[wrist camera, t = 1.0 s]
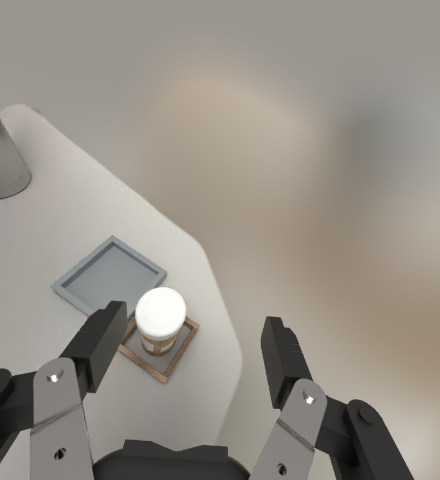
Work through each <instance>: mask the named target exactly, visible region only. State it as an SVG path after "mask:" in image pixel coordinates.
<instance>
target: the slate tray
mask: <svg viewBox="0 0 440 480" xmlns="http://www.w3.org/2000/svg"><path fill="white" fill-rule="evenodd" d="M166 274H167V271H165V270H164V269H162V268H161V267H159V266H158V265H156V264H155V263H153V262H152V261H150V260H149V259H147V258H146V257H144V256H143V255H141V254H140V253H138V252H137V251H135V250H134V249H132V248H131V247H129V246H128V245H126V244H125V243H123V242H122V241H120V240H119V239H117V238H116V237H114V236H113V235H112V236H111V237H109V238H108V239H107V240H106V241H105V242H103V243H102V244H101V245H100V246H99V247H97V248H96V249H95V250H94V251H93V252H91V253H90V254H89V255H88V256H87V257H85V258H84V259H83V260H82V261H81V262H79V263H78V264H77V265H76V266H75V267H73V268H72V269H71V270H70V271H69V272H67V273H66V274H65V275H64V276H63V277H61V278H60V279H59V280H58V281H57V282H55V283H54V284H53V285H52V286H51V288H52V289H53V290H54V291H55V292H56V293H57V294H58V295H60V296H61V297H63V298H64V299H65V300H67V301H68V302H69V303H71V304H72V305H74V306H75V307H76V308H78V309H79V310H80V311H82V312H83V313H85V314H86V315H87V316H89V317H90V315H92V314H93V313H94V312H96V311H97V310H98V309H105V308H106V307H107V305H108V304H109V302H110V301H111V300H115V301H125V302H126V304H127V319H128V322H129V321H130V320H131V318H132V317H133V316H134V315H135V310H136V306H137V304H138V302H139V300H140V298H141V297H142V296H143V295H144V294H145V293H146V292H148V291H150V290H152V289H154V288H157V287H158V286H159V285H160V284H161V283H162V281H163V280H164V279H165V278H166Z"/></svg>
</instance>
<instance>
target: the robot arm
mask: <svg viewBox="0 0 440 480" xmlns="http://www.w3.org/2000/svg"><path fill="white" fill-rule="evenodd" d="M30 180H31V174H30V172H29V170H28V168H27V166H26V164H25V163H24V161H23V159H22V157H21V155H20V153H19V152H18V150H17V148H16V146H15V145H14V143H13V141H12V139H11V137H10V136H9V134H8V132H7V130H6V129H5V127H4V125H3V123H2V121H1V120H0V198H4V197H8V196H11V195H14V194H16V193H18V192H20V191H21V190H23V189H24V188H25V187H26V186H27V185H28V184H29V182H30ZM127 325H128V319H127V304H126V302H125V301H115V300H111V301H110V302H109V304H108V305H107V307H106V308H105V309H98V310H97V311H96V312H94V313H93V314H92V315H90V317H89V318H88V319H87V321H86V322H85V324H84V325H83V326H82V327H81V329H80V331H78V333H77V334H76V335H75V337H74V338H73V339H72V341H71V342H70V343H69V345H68V346H67V347H66V349H65V350H64V351H63V353H62V354H61V355H60V357H59V358H57V359H54V360H52V361H50V362H48V363H46V364H45V365H43V366H42V367H41V368H40V369H39V370H38V371H35V372H31V373H25V374H20V375H15V376H12V375H11V373H10V371H9V370H7V369H2V368H1V369H0V462H1V461H2V459H3V458H4V456H5V455H6V453H7V451H8V450H9V448H10V447H11V445H12V444H13V442H14V440H15V439H16V437H17V436H18V434H19V433H20V431H23V430H26V429H30V428H32V429H31V432H30V480H307V477H308V474H309V471H310V467H311V464H312V460H313V457H314V452H315V450H314V448H316V449H319V450H321V451H323V452H325V453H327V454H329V456H330V459H331V463H332V466H333V469H334V473H335V476H336V479H337V480H414V478H413V476H412V474H411V473H410V471H409V469H408V467H407V465H406V463H405V461H404V459H403V458H402V455H401V454H400V452H399V450H398V448H397V446H396V444H395V442H394V440H393V438H392V437H391V435H390V433H389V431H388V429H387V427H386V425H385V424H384V422H383V419H382V418H381V416H380V415H379V414H378V412H377V411H376V410H375V409H374V408H373V407H371V406H370V405H369V404H367V403H366V402H364V401H361V400H356V399H354V400H351V401H350V402H349V403H348V405H347V404H344V403H342V402H340V401H337V400H335V399H332V398H330V397H328V396H327V395H325V393H324V392H323V390H322V389H321V388H320V386H319V385H317V384H316V383H315V382H313V379H312V377H311V374H310V372H309V369H308V367H307V364H306V361H305V359H304V356H303V353H302V351H301V348H300V346H299V343H298V340H297V338H296V335H295V334H294V333H293V332H292V331H291V329H290V328H285V327H284V325H283V322H282V320H281V318H280V317H270V316H267V317H266V320H265V324H264V328H263V332H262V335H261V349H262V354H263V359H264V364H265V369H266V375H267V380H268V385H269V390H270V396H271V401H272V406H273V408H275V409H280V410H281V414H280V416H279V418H278V420H277V422H276V423H275V425H274V427H273V429H272V432H271V434H270V436H269V438H268V440H267V442H266V444H265V446H264V448H263V451H262V453H261V455H260V457H259V459H258V461H257V463H256V465H255V467H254V469H253V472H252V473H251V474H250V473H249V472H248V471H247V469H246V468H245V467H244V466H243V465H242V464H240V463H239V462H238V461H236V460H235V459H233V458H232V457H229V456H228V447H223V446H209V445H201V446H197V447H193V448H190V449H186V450H182V451H177V452H176V451H172V450H170V449H168V448H165V447H163V446H161V445H159V444H156V443H154V442H152V441H141V440H127V439H126V440H125V443H124V446H123V449H119V450H116V451H114V452H112V453H110V454H108V455H106V456H104V457H103V458H101V459H100V460H98V461H97V462H96V463H95V464H94V462H93V456H92V451H91V446H90V441H89V435H88V430H87V424H86V419H85V413H84V408H83V402H82V401H83V399H84V398H85V396H86V394H87V392H88V393H96V391H97V389H98V387H99V385H100V383H101V381H102V379H103V377H104V375H105V373H106V371H107V369H108V367H109V365H110V363H111V361H112V359H113V357H114V355H115V353H116V351H117V349H118V347H119V345H120V343H121V341H122V339H123V337H124V335H125V333H126V330H127Z"/></svg>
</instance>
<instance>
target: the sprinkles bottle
mask: <svg viewBox="0 0 440 480" xmlns="http://www.w3.org/2000/svg"><path fill="white" fill-rule="evenodd" d="M186 312H187V311H186V303H185V301H184V299H183V297H182V296H181V295H180V294H179V293H178V292H177V291H175V290H174V289H171V288H168V287H158V288H154V289H152V290H150V291H148V292H146V293H145V294H144V295H143V296H142V297H141V298H140V300H139V302H138V304H137V306H136V310H135V319H136V324H137V327H138V329H139V331H140V335H141V340H142V346H143V348H144V349H145V351H146V352H147V353H149V354H150V355H153V356H161V355H164V354H165V353H167V352H169V351H170V350H171V348H172V347H173V345H174V343H175V339H176V336H177V333H178V331H179V330H180V329H181V327H182V325H183V323H184V321H185V317H186Z"/></svg>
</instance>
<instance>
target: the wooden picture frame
mask: <svg viewBox="0 0 440 480" xmlns="http://www.w3.org/2000/svg"><path fill="white" fill-rule="evenodd" d="M183 325H185V326H186V327H188V328H189V329H191V330H192V331H191V332H190V334H189V336H188V337H187V339H186V340H185V342H184V343H183V345H182V347H181V348H180V350H179V351H178V353H177V355H176V356H175V358H174V359H173V361H172V363H171V364H170V366H169V367H168V369H167V371H166V372H165V374H164V375H162V374H161V373H160V372H158V371H157V370H156V369H154V368H153V367H151V366H150V365H149V364H147V363H146V362H145V361H143V360H142V359H141V358H139V357H138V356H136V355H135V354H134V353H132V352H131V351H130V350H128V349H127V348H125V347H124V346H123V344H124V343H125V342H126V340H127V339H128V338H129V337H130V335H131V334H132V333H133V332H134V330H135V329H136V328H137V324H136V319H134V320H133V321H132V322H131V324H130V325H129V326H128V327H127V330H126V333H125V335H124V337H123V339H122V341H121V343H120V345H119V347H118V349H117V350H118V351H120V352H121V353H123V354H124V355H125V356H127V357H128V358H129V359H131V360H132V361H133V362H135V363H136V364H138V365H139V366H140V367H142V368H143V369H144V370H146V371H147V372H148V373H150V374H151V375H153V376H154V377H155V378H157V379H158V380H159V381H161V382H162V383H163V384H164V383H165V382H166V380H167V379H168V377H169V375H170V374H171V372H172V370H173V369H174V367H175V365H176V364H177V362H178V361H179V359H180V357H181V356H182V354H183V352H184V351H185V349H186V348H187V346H188V344H189V343H190V341H191V339H192V338H193V336H194V334H195V333H196V331H197V330H198V328H199V325H198V324H196V323H195V322H193V321H192V320H190V319H189V318H188V317H185V321H184V323H183Z"/></svg>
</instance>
